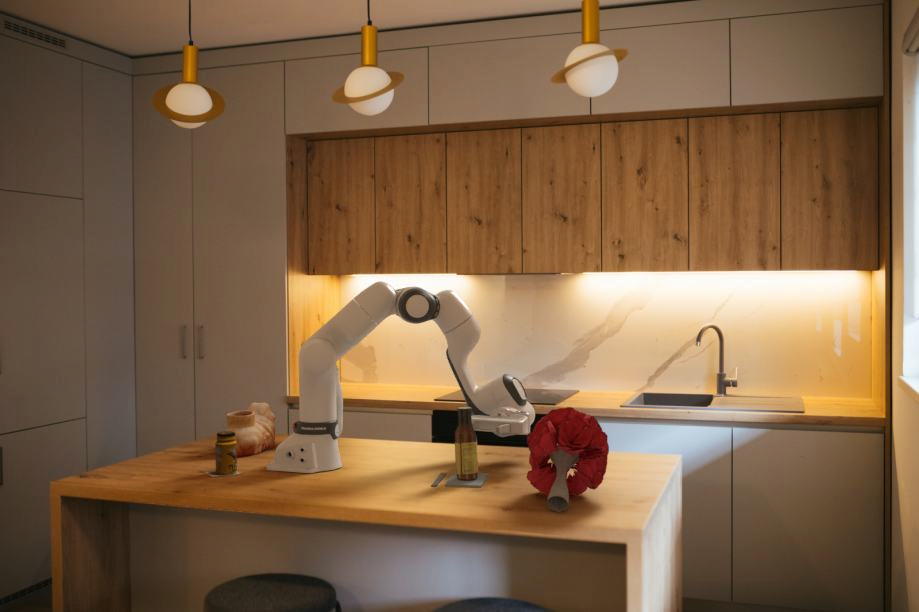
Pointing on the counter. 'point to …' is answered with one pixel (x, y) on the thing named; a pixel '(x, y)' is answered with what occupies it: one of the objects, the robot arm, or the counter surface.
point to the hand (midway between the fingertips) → (483, 428)
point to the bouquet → (566, 455)
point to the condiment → (225, 455)
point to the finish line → (438, 479)
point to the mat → (466, 481)
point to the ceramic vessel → (253, 429)
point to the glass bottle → (339, 402)
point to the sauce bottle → (466, 446)
